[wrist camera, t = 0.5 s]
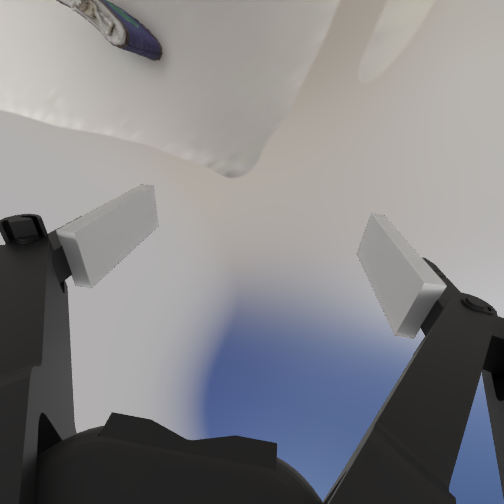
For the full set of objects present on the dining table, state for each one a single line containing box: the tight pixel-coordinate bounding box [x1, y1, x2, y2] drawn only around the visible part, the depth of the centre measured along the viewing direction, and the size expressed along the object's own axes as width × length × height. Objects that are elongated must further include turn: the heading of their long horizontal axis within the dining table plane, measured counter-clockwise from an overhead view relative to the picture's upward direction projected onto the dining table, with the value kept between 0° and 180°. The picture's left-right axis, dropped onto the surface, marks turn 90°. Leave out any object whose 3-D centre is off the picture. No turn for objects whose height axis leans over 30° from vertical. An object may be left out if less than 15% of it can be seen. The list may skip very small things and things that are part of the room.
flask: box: [57, 0, 162, 60], centre depth 29 cm, size 9×3×11 cm, turn 54°
